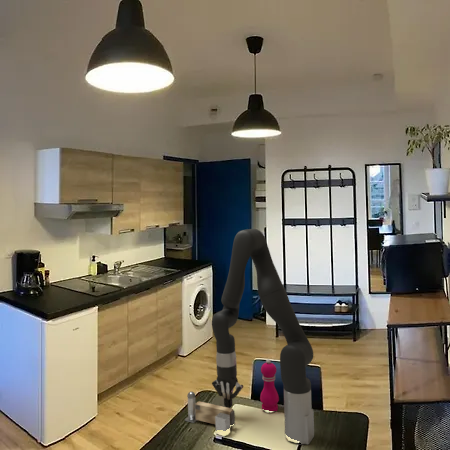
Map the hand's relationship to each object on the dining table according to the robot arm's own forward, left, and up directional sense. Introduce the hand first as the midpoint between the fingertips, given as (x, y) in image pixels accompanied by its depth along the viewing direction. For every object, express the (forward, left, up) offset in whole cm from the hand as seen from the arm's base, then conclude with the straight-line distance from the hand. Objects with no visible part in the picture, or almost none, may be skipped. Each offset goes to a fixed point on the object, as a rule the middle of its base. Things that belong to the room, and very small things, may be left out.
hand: (228, 407), depth 165 cm
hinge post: (+12, +7, -4) cm, 14 cm away
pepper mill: (-11, -13, -4) cm, 17 cm away
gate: (+2, +7, -3) cm, 8 cm away
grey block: (-4, +11, -4) cm, 12 cm away
